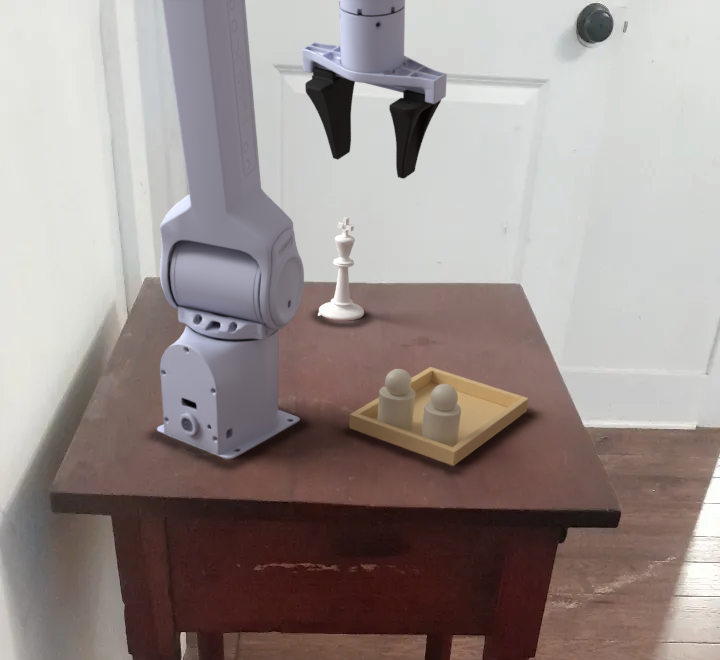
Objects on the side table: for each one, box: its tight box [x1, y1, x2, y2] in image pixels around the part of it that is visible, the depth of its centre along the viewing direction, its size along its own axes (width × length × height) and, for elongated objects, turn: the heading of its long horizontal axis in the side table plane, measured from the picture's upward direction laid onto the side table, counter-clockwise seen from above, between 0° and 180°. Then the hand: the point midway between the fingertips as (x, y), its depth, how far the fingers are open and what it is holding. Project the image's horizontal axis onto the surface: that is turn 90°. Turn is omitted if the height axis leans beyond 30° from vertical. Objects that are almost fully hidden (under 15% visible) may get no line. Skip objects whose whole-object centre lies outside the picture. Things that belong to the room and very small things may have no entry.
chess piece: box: [317, 216, 365, 322], centre depth 101 cm, size 5×5×10 cm
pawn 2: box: [421, 384, 461, 447], centre depth 80 cm, size 3×3×5 cm
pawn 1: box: [377, 368, 415, 432], centre depth 82 cm, size 3×3×5 cm
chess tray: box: [348, 366, 530, 466], centre depth 85 cm, size 13×10×2 cm
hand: (373, 164), depth 96 cm, fingers open, 7 cm apart
